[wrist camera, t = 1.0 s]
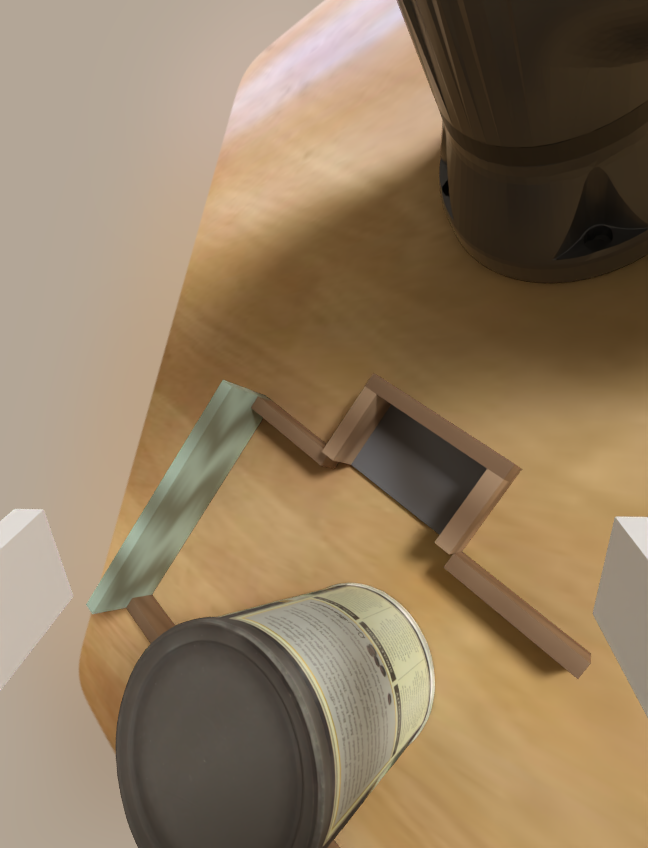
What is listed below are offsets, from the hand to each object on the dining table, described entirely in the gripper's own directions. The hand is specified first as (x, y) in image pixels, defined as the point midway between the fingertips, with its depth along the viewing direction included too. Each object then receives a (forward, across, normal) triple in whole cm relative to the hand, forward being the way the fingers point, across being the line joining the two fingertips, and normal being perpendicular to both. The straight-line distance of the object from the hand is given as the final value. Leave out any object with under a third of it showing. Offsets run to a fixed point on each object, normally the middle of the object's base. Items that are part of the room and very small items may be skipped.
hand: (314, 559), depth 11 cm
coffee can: (+13, 0, -19) cm, 23 cm away
